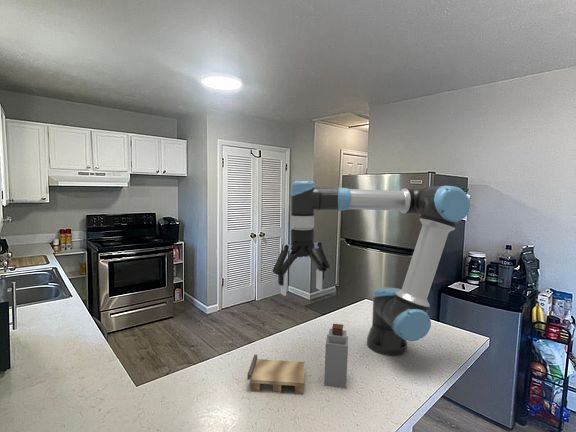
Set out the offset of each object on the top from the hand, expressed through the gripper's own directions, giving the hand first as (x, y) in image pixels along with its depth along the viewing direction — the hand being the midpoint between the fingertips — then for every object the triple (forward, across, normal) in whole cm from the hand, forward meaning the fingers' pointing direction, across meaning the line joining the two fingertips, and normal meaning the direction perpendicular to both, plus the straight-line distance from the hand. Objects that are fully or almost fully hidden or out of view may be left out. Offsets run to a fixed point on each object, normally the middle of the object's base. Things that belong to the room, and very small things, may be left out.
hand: (301, 291), depth 107 cm
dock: (+26, +10, +3) cm, 28 cm away
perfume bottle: (+27, -7, +11) cm, 30 cm away
